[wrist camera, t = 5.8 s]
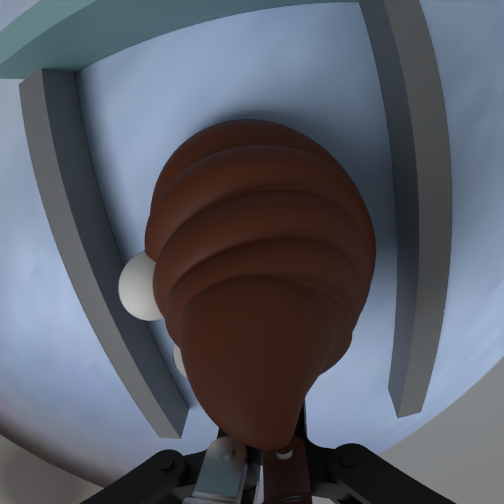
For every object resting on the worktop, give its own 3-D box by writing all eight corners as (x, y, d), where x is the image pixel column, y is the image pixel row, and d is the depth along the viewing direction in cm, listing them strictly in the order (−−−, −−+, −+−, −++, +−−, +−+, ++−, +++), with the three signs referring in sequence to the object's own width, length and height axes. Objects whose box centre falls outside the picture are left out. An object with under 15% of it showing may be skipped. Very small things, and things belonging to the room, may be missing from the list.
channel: (48, 60, 10) (-23, 53, 6) (380, -24, 8) (423, -76, 4) (168, 409, 19) (149, 468, 14) (409, 383, 16) (432, 444, 12)
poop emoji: (390, 283, 14) (476, 445, 5) (238, 351, 16) (210, 517, 7) (292, 83, 11) (337, -26, 2) (123, 189, 13) (-42, 290, 4)
